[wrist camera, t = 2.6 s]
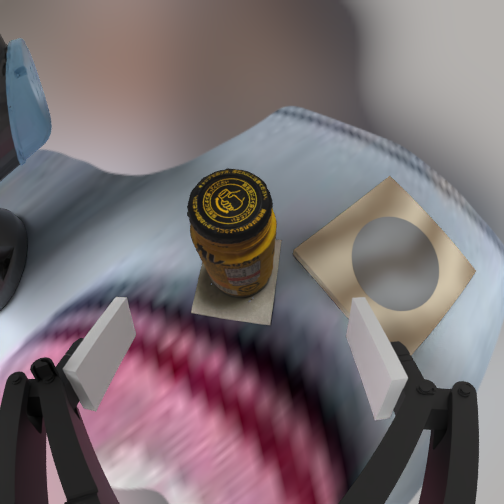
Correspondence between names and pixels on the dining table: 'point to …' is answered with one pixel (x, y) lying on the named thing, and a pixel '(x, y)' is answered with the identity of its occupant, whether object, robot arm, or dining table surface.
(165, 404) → the dining table surface
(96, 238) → the dining table surface
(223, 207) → the condiment
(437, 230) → the board
